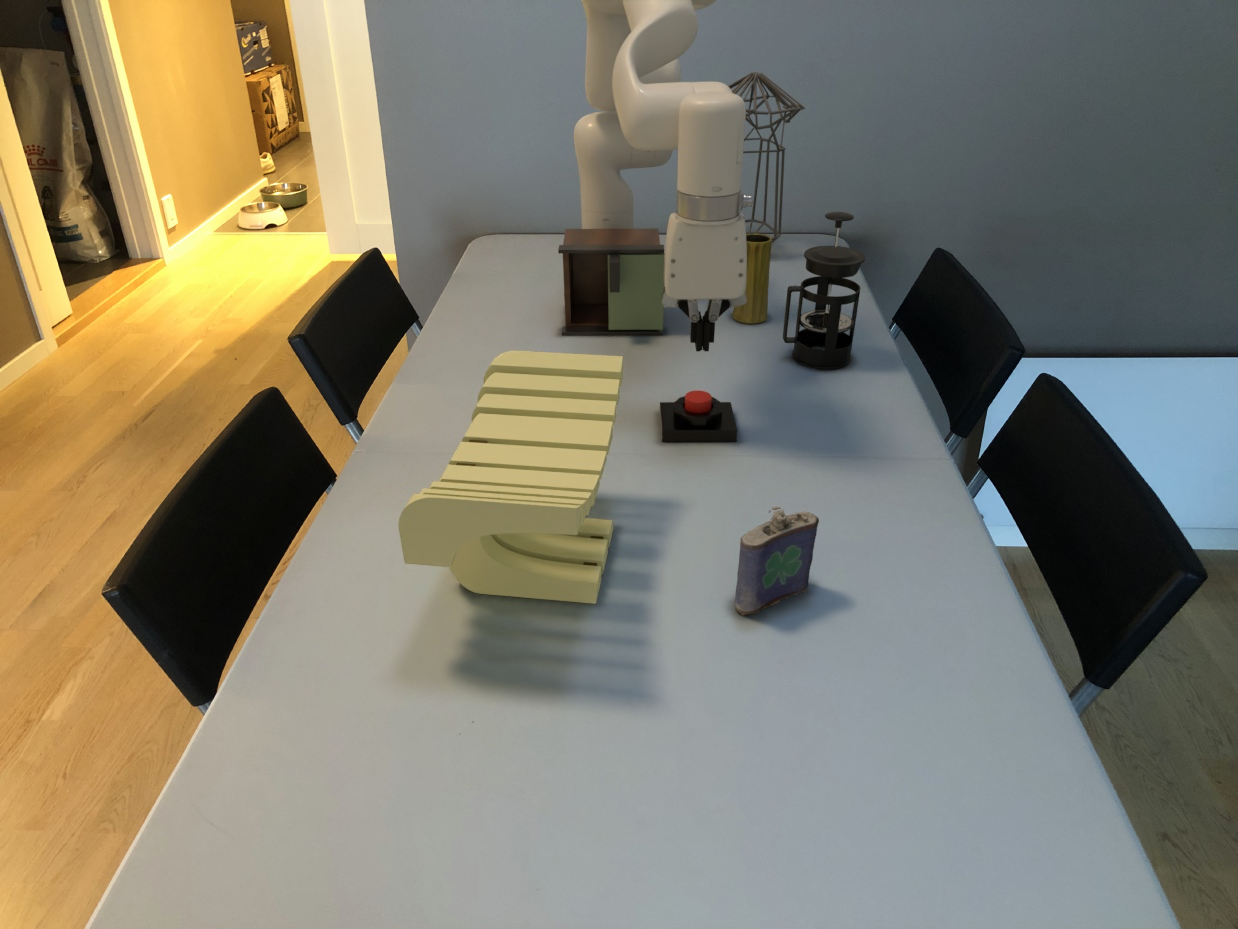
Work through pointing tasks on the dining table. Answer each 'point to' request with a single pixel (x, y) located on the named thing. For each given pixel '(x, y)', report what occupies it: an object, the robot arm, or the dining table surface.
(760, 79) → the geometric lantern
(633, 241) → the cupboard
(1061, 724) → the dining table surface
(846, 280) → the french press
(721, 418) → the control block
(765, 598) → the flask
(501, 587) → the slatted curved stool
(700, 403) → the button
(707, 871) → the dining table surface
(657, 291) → the door
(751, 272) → the vase
